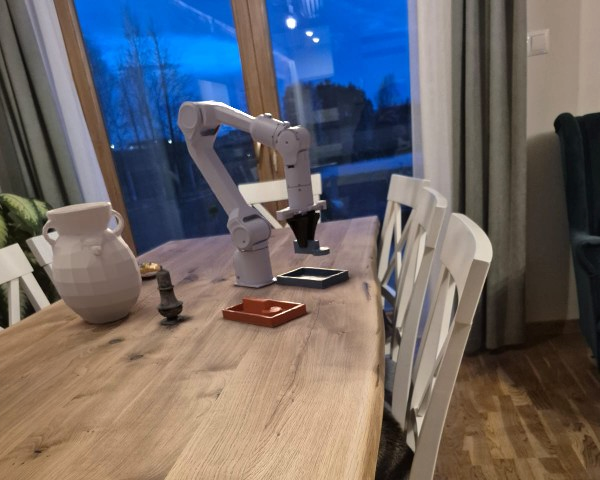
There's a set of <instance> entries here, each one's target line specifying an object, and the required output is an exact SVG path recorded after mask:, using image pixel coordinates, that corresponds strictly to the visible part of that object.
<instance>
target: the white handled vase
mask: <svg viewBox="0 0 600 480" xmlns="http://www.w3.org/2000/svg"><path fill="white" fill-rule="evenodd" d="M45 215H46V218H47V221H46V223H45V224H44V225H43V227H42V236H43V238H44V240H45V241H46V242H47V243H48V245H50V246H51V251H52V260H51V270H52V278H53V282H54V285H55V288H56V290H57V293H58V295H59V296H60V298H61V300H62V301H63V302H64V303H65V305H66V306H67V307H68V308H69V309H70V310H71V311H73V312H74V313H75V314H76V315H77V316H79V317H80V318H82V319H83V320H85V321H86V322H88V323H89V324H105V323H111V322H114V321H118V320H120V319H123V318H126V317H127V316H128V315H129V313H131V310H132V309H133V307H134V306H135V305H136V303H137V301H138V300H139V297H140V295H141V292H142V284H143V282H142V281H143V279H142V274H141V273H140V268H139V266H138V263H137V262H138V260H137V259H136V258H137V257H136V256H135V254H134V252H133V251H132V250H131V248H130V247H129V244H128V245H127V243H126V241H125V240H124V239H123V237H122V236H121V234H122V233H123V230H124V228H125V219H124V217H123V216H122V214H121V213H120V212H118V211H116V210H114V209H112V203H111V202H110V201H94V202H84V203H78V204H77V203H75V204H71V205H66V206H65V205H64V206H61V207H58V208H54V209H50V210H48V211H46V213H45ZM113 217H115V218H117V220H118V224H117V226H116V227H115V228H114V229H110V228H109V226H110V221H111V219H112V218H113ZM49 229H54V230H55V231H56V233H57V235H58V236H57V238H56V239H53V238H50V235H49V234H48V231H49Z"/></svg>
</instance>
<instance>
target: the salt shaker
mask: <svg viewBox="0 0 600 480" xmlns="http://www.w3.org/2000/svg"><path fill="white" fill-rule="evenodd" d="M159 268H160V270H159V271H156V273H155V277H156V282H157V288H156V289H157V291H159V296H160V297H159V298H160V303H158V304H157V305H156V306H155V309H157V311H158V313H159V315H160V316H161V317H163V319H162V320H161V321H160V324H161V325H164V326H165V325H175V324H178V323H182V322H184V321H185V320H186V317H185V316H183V315H181V313H182V312H183V308H184V306H183V304H184V301H183V300H178V299H177V297H176V295H175V291H174V287H175V285H174V284H173V283H172V278H171V274H170V271H169V270H167V269H165V268H164V266H162V265H161V264H160V265H159Z"/></svg>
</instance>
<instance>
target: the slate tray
mask: <svg viewBox="0 0 600 480" xmlns="http://www.w3.org/2000/svg"><path fill="white" fill-rule="evenodd" d="M349 276H350V275H349V270H348V269H337V268H336V269H334V268H323V267H308V266H302V267H299V268H296V269H293V270H290V271H287V272H284V273H282V274H279V275H276V277H275V278H277V281H276V283H277V285H285V286H296V287H303V288H304V287H305V288H312V289H322V290H323V289H325V288H328V287H331V286H332V285H333V286H334V285H335V284H338V283H341V282H343V281H346V280H348V279H350V277H349Z"/></svg>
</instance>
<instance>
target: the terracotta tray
mask: <svg viewBox="0 0 600 480" xmlns="http://www.w3.org/2000/svg"><path fill="white" fill-rule="evenodd" d="M254 298H258V297H256V296H255V297H254ZM260 298H261V299H265V298H263V297H260ZM267 299H268V300H270V305H271V307H280V308H281V309H282V313H280V314H277V315H275V316H272V317H268V316H263V315H258V314H253V313H247V312H244V308H243V302H242V301H241V302H239V303H237V304H234V305H231V306H228V307H226V308H223V309H221V313H222V318H223V319H224V320H229V321H235V322H241V323H245V324H252V325H257V326H262V327H266V328H267V327H268V328H275V327H277V326H279V325H282V324H284V323H286V322H289V321H291V320H293V319H296V318H299V317H301V316H303V315H305V314H307V305H306V303H300V302H293V301H286V300H279V299H278V300H277V299H271V298H267Z"/></svg>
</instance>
